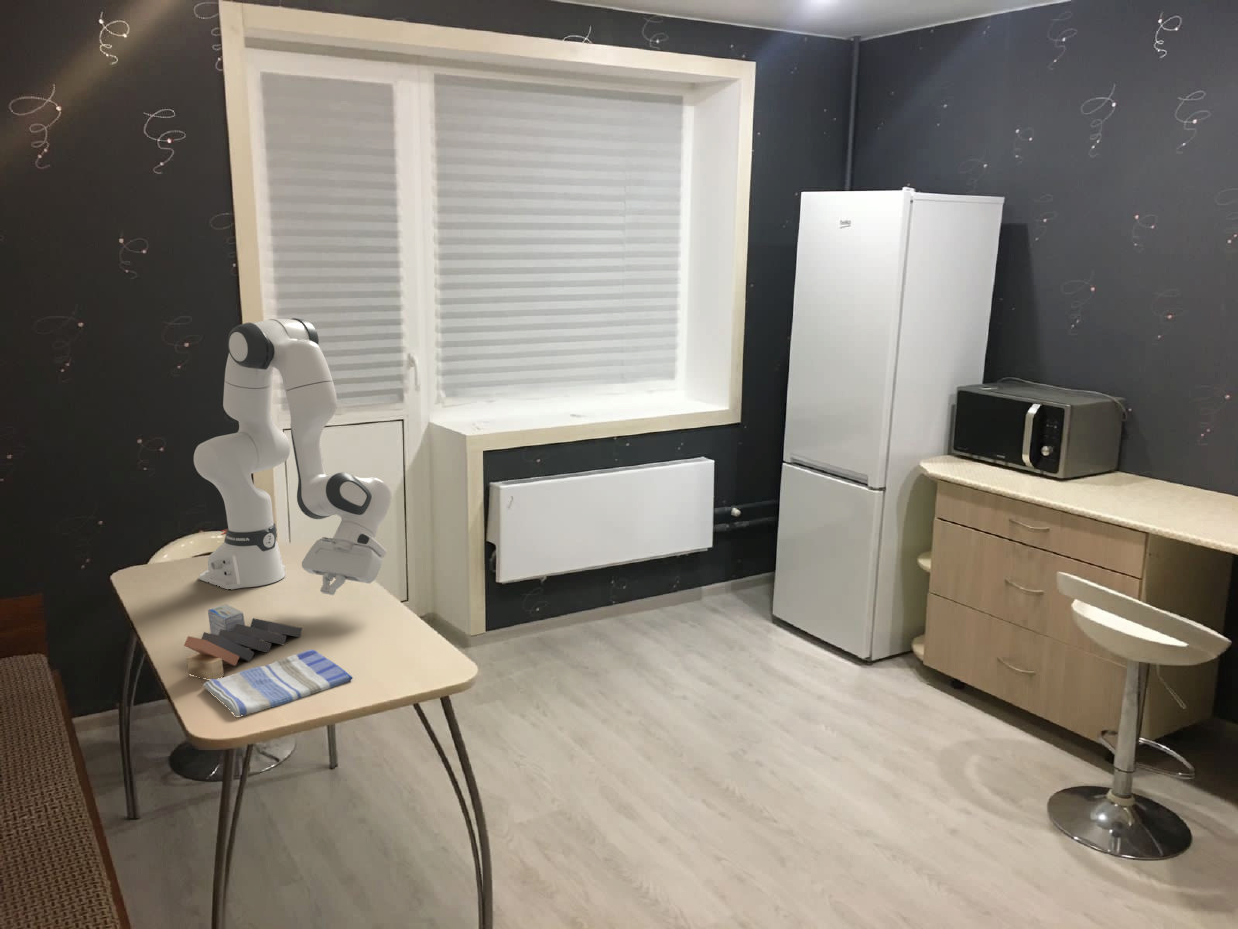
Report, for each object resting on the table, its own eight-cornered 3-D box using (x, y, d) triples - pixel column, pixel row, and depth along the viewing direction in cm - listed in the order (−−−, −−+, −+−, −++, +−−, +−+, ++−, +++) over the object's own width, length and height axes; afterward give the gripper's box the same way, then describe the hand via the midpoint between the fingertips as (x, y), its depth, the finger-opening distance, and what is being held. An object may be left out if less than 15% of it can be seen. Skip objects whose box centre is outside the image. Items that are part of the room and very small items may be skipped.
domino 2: (232, 657, 203) (199, 641, 195) (237, 648, 203) (204, 632, 195) (250, 661, 200) (217, 645, 192) (254, 652, 201) (221, 636, 193)
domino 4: (266, 641, 211) (233, 633, 202) (269, 632, 211) (236, 623, 203) (283, 645, 209) (250, 637, 200) (286, 636, 209) (253, 627, 201)
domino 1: (218, 661, 199) (183, 645, 191) (222, 652, 200) (188, 636, 192) (235, 665, 197) (201, 649, 189) (239, 656, 198) (205, 640, 190)
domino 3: (251, 649, 207) (217, 638, 198) (254, 639, 208) (220, 629, 199) (268, 652, 205) (234, 642, 196) (271, 643, 205) (238, 633, 197)
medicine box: (248, 650, 206) (244, 612, 205) (228, 656, 203) (223, 618, 201) (231, 640, 212) (227, 603, 210) (211, 646, 209) (207, 609, 207)
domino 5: (282, 633, 215) (250, 627, 206) (285, 624, 215) (252, 618, 207) (299, 637, 213) (267, 631, 204) (302, 628, 213) (269, 621, 205)
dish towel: (202, 692, 188) (200, 678, 187) (317, 657, 203) (316, 645, 202) (233, 723, 175) (232, 709, 175) (354, 684, 190) (353, 671, 190)
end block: (189, 675, 194) (186, 657, 193) (199, 671, 196) (197, 652, 195) (213, 682, 191) (211, 663, 190) (223, 677, 193) (221, 658, 192)
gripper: (311, 530, 232) (285, 581, 225) (378, 539, 223) (352, 593, 216) (326, 542, 236) (300, 593, 230) (392, 552, 227) (367, 605, 221)
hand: (326, 593), depth 223 cm, fingers closed
